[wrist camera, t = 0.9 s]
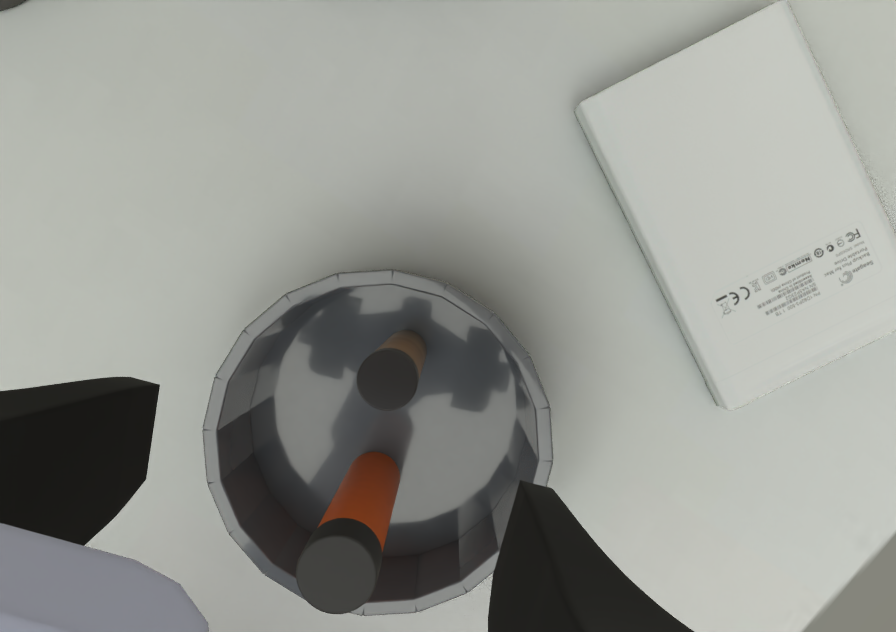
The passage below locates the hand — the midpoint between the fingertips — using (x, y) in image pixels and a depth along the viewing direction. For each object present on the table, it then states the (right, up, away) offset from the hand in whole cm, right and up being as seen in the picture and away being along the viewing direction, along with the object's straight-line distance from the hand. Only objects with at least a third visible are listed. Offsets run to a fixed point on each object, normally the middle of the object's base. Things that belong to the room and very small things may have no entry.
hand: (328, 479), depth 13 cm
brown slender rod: (+1, +2, +13) cm, 13 cm away
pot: (0, -1, +13) cm, 13 cm away
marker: (-1, -3, +13) cm, 13 cm away
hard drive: (+13, +7, +13) cm, 20 cm away
